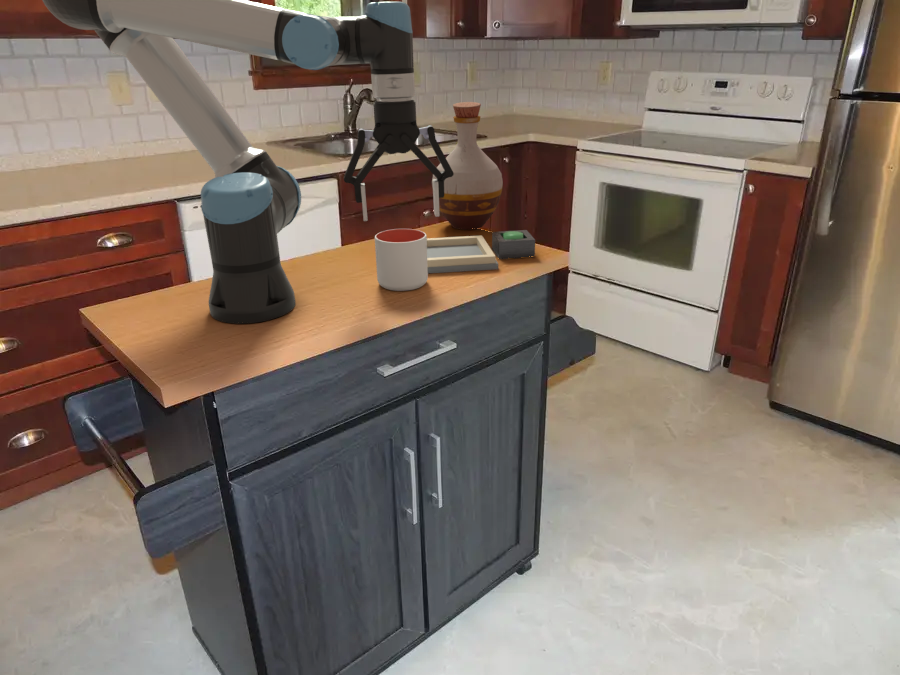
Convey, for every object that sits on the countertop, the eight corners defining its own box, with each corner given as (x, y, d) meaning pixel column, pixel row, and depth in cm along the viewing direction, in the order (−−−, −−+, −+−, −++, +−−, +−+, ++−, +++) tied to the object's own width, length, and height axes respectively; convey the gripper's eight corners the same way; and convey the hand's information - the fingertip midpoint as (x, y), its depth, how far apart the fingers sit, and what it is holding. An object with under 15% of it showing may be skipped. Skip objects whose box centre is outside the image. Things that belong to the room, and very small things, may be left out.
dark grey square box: (499, 259, 146) (499, 241, 144) (492, 248, 153) (492, 231, 151) (534, 257, 146) (535, 239, 145) (525, 246, 154) (526, 230, 152)
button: (505, 251, 147) (505, 237, 146) (501, 245, 151) (501, 231, 149) (524, 250, 147) (525, 236, 146) (520, 244, 151) (520, 230, 150)
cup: (427, 275, 137) (426, 227, 133) (428, 292, 128) (426, 242, 124) (379, 276, 137) (376, 229, 132) (376, 293, 127) (372, 243, 123)
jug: (441, 214, 183) (439, 99, 170) (506, 216, 180) (508, 99, 167) (426, 233, 165) (422, 106, 153) (497, 236, 162) (499, 107, 150)
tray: (417, 274, 137) (417, 261, 136) (411, 250, 153) (410, 238, 152) (498, 269, 139) (498, 256, 138) (483, 246, 155) (483, 234, 154)
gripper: (322, 104, 113) (334, 226, 122) (466, 97, 116) (469, 217, 124) (323, 100, 120) (335, 216, 128) (460, 94, 122) (462, 208, 131)
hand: (401, 217), depth 126 cm, fingers open, 13 cm apart
